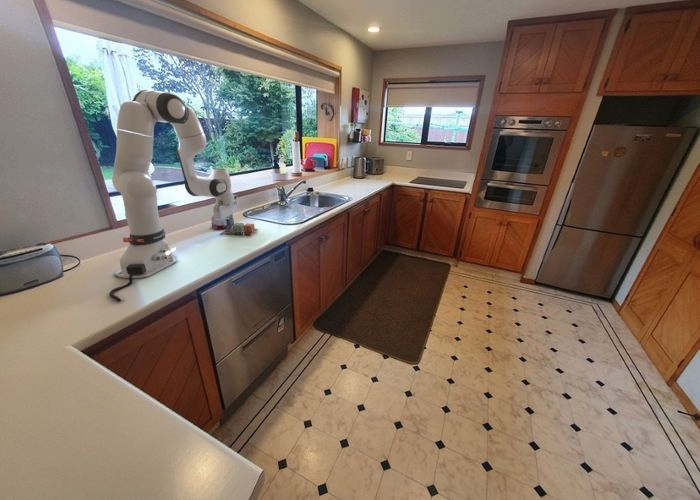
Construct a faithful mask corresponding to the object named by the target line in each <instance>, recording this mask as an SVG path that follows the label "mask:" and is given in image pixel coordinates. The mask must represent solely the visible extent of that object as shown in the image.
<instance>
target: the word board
mask: <svg viewBox="0 0 700 500" xmlns="http://www.w3.org/2000/svg"><path fill="white" fill-rule="evenodd" d="M257 231H258V228H255V232H257ZM255 232H253V233H252V234H247V233H244V231H243V232H242V233H234V231H233V226H232V227H231V228H230V227H229V228H226V229H224V231H222V232H221V233H220V234H219V235H222V236H237V237H251V236H252V235H253V234H254V233H255Z"/></svg>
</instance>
